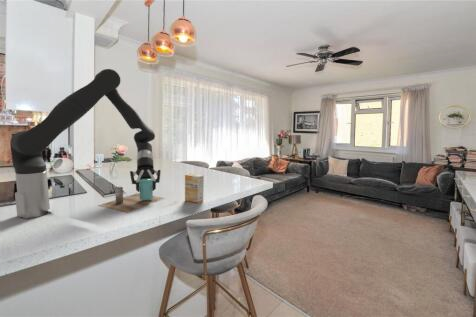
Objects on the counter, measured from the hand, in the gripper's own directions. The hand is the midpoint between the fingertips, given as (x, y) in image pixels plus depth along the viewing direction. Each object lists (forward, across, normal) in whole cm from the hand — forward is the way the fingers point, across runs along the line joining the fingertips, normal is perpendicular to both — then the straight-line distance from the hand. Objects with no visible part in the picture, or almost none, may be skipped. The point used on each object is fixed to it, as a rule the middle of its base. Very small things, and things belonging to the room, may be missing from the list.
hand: (146, 190), depth 107 cm
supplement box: (+6, +22, +4) cm, 23 cm away
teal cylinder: (+2, 0, +4) cm, 5 cm away
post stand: (+4, -6, +6) cm, 9 cm away
